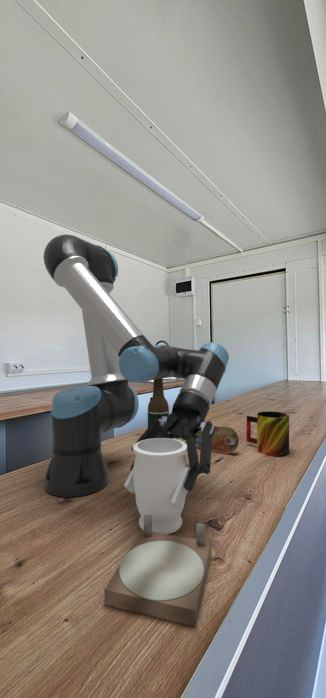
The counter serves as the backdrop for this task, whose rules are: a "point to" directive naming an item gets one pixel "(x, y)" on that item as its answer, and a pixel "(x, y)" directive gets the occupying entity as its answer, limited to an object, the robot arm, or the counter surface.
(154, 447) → the jar
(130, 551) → the seat board
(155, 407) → the beer bottle
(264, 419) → the mug
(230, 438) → the tin
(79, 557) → the counter surface
